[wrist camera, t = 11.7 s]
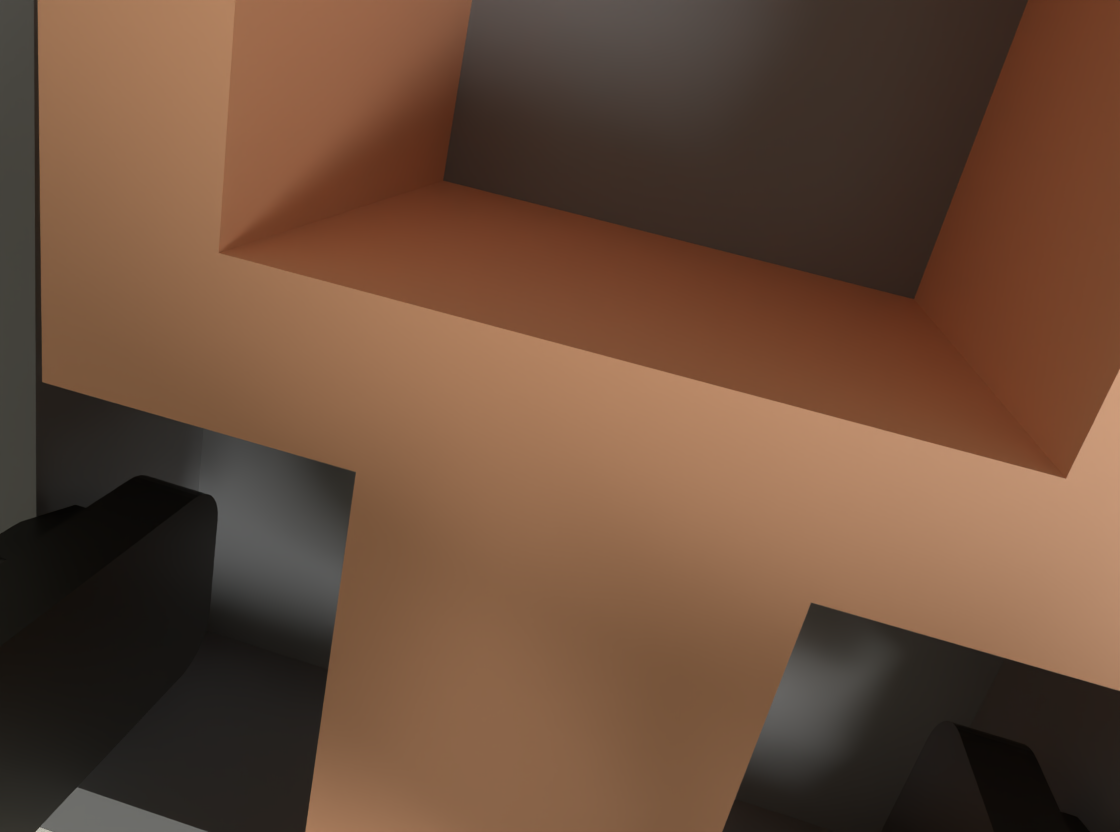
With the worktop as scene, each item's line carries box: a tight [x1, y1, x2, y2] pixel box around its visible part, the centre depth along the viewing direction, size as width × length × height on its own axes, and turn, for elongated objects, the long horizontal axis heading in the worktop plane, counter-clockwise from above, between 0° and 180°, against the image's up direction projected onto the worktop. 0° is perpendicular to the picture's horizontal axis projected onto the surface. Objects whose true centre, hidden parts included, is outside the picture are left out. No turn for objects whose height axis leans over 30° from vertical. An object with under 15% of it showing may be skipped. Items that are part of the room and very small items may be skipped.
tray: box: [0, 0, 1120, 832], centre depth 8 cm, size 16×12×4 cm
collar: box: [38, 0, 1120, 832], centre depth 7 cm, size 12×8×4 cm, turn 168°
